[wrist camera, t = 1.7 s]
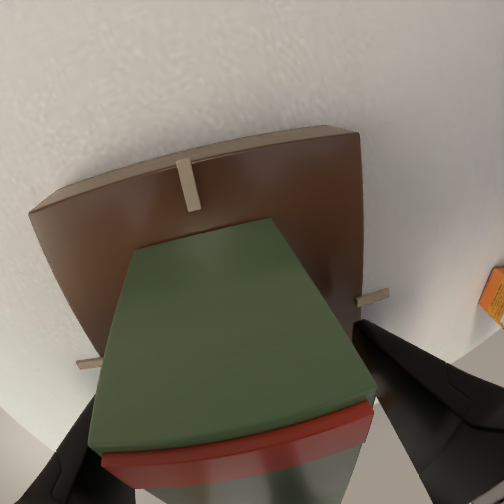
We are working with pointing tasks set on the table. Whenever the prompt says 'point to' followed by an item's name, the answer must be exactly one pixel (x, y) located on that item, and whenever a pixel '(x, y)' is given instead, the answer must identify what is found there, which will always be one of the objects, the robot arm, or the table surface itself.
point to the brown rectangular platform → (212, 217)
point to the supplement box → (494, 296)
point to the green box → (229, 376)
